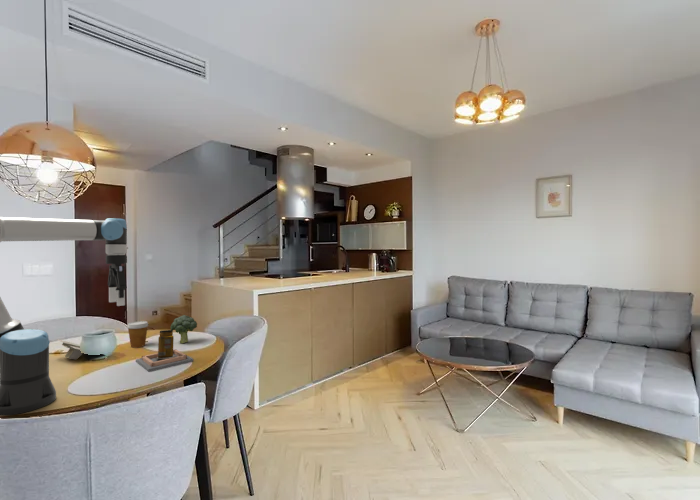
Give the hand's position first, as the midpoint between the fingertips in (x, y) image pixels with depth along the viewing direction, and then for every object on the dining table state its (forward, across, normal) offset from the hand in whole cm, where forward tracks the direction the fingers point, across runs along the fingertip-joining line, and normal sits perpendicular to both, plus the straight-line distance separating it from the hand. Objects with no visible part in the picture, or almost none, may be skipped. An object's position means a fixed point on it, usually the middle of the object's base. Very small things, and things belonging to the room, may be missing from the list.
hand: (116, 303), depth 148 cm
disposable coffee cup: (+27, +27, -15) cm, 41 cm away
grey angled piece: (+27, +26, +8) cm, 38 cm away
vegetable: (+27, +16, -34) cm, 46 cm away
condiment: (+25, -10, -16) cm, 31 cm away
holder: (+27, -9, -16) cm, 32 cm away
